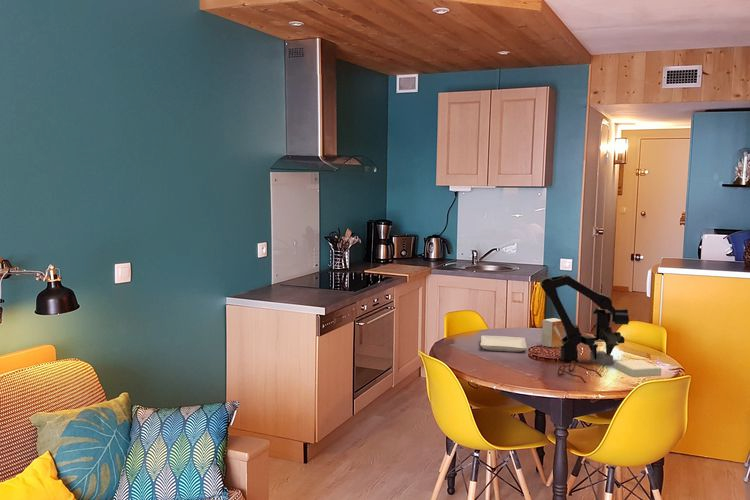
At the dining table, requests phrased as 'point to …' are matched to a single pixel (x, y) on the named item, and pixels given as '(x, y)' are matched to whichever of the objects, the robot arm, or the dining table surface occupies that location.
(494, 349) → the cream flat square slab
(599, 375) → the glasses
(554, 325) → the small box
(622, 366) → the stand
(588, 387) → the dining table surface
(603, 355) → the block
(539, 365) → the dining table surface
